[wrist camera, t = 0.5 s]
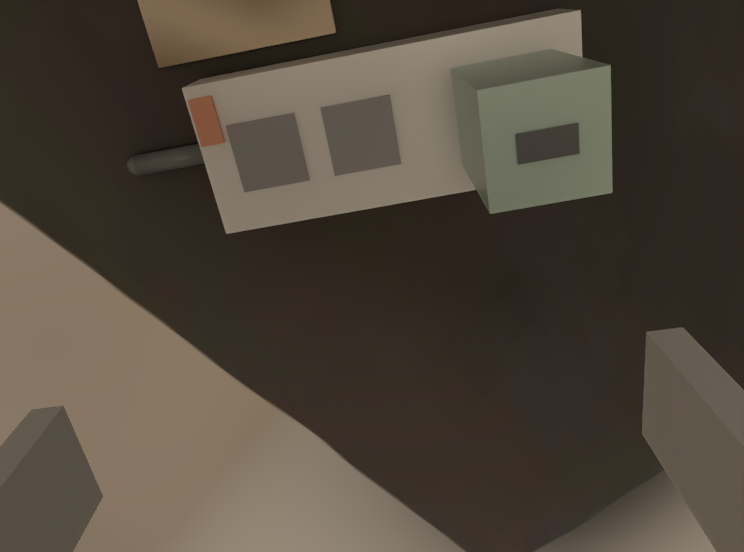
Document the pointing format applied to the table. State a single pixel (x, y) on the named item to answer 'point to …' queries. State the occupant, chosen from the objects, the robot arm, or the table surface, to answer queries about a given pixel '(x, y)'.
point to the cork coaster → (229, 26)
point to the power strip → (345, 123)
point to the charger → (535, 128)
